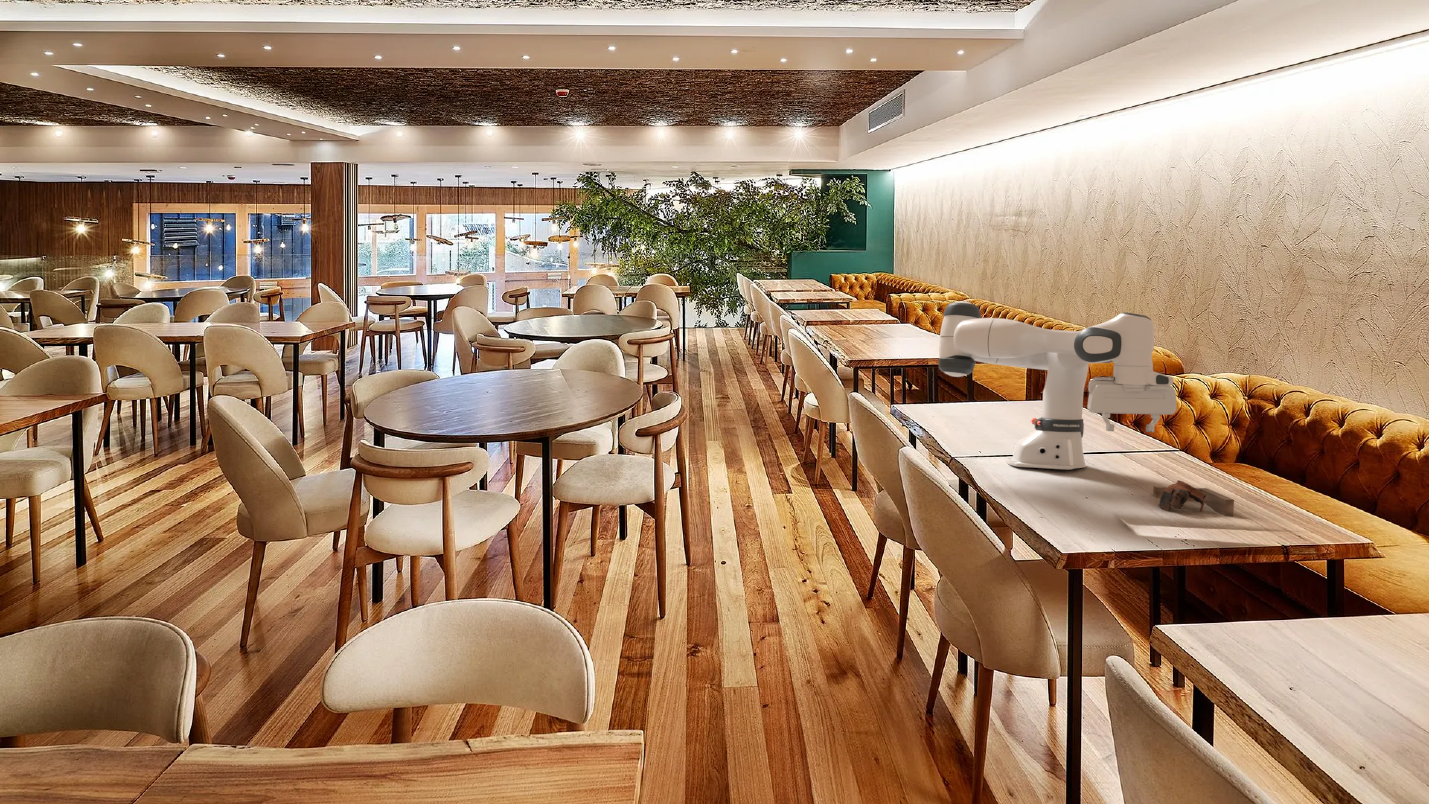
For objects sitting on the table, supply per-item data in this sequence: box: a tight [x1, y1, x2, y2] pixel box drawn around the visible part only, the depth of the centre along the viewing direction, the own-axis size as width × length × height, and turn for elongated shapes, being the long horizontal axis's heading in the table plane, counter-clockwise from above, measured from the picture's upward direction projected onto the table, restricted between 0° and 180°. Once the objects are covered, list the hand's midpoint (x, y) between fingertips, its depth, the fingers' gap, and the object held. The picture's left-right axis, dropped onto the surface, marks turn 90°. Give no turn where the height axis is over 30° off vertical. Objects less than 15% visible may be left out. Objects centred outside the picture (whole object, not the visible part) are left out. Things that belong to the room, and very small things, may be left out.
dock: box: [1152, 485, 1235, 517], centre depth 207 cm, size 13×16×4 cm
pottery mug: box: [1158, 479, 1206, 512], centre depth 204 cm, size 12×9×8 cm
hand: (1129, 431), depth 206 cm, fingers open, 8 cm apart
